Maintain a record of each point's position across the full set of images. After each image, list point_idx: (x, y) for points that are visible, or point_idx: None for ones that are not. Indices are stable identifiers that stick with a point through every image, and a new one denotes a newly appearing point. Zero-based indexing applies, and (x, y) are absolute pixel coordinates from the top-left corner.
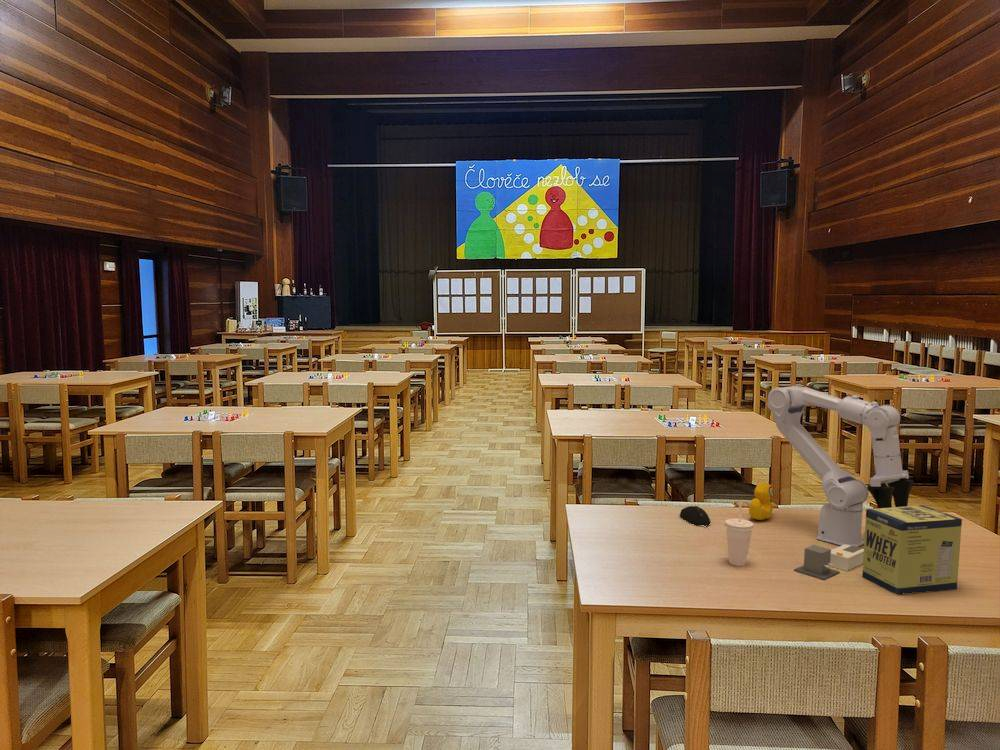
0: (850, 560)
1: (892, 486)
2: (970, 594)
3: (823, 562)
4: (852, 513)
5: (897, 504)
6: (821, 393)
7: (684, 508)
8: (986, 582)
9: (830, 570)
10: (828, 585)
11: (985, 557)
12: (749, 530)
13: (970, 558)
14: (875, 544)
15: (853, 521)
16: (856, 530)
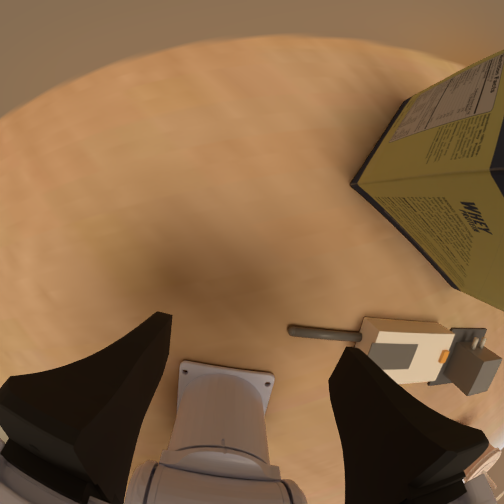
0: (442, 330)
1: (123, 473)
2: (412, 79)
3: (486, 350)
4: (260, 454)
5: (159, 370)
6: None
7: None
8: (306, 44)
9: (453, 342)
10: (498, 312)
11: (89, 83)
12: (496, 448)
13: (117, 102)
14: None
15: (255, 431)
16: (243, 404)
